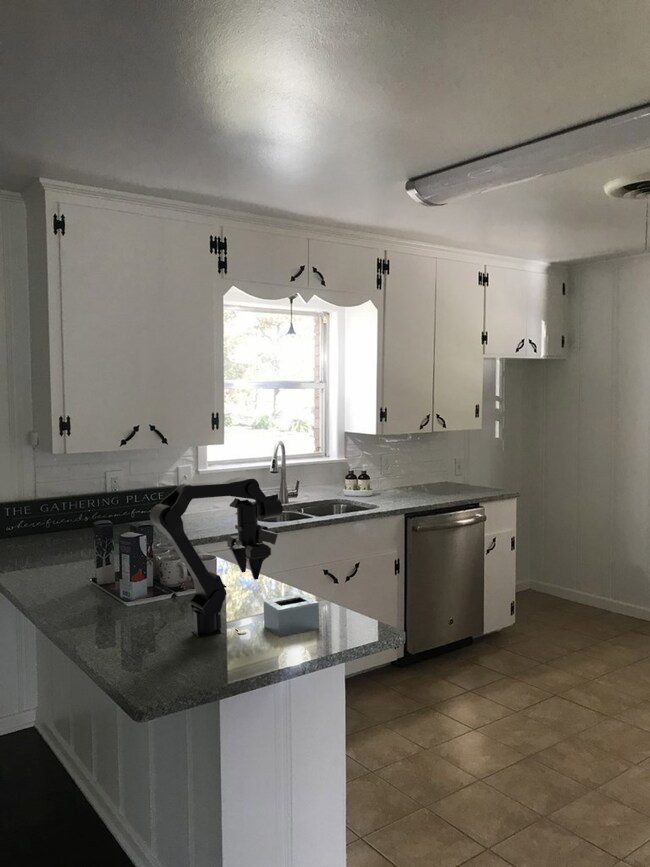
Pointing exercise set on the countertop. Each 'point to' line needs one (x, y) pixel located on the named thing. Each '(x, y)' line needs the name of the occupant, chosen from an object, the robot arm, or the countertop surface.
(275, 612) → the box
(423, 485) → the countertop surface
